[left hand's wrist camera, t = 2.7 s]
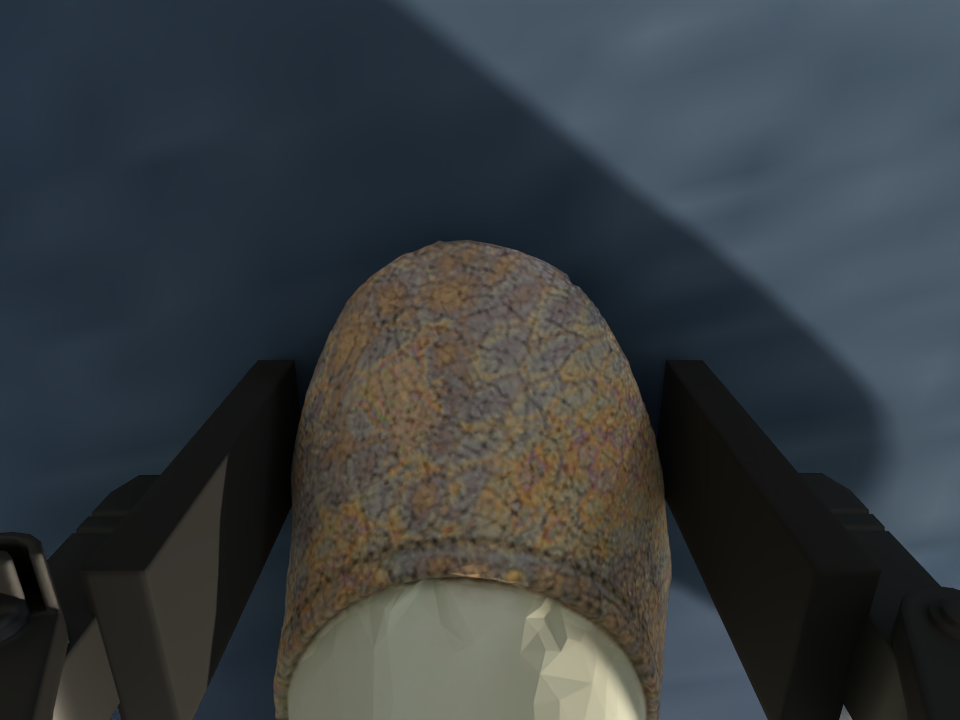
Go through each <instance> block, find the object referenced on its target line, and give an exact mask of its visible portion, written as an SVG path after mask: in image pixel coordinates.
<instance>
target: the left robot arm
mask: <svg viewBox="0 0 960 720" xmlns="http://www.w3.org/2000/svg"><path fill="white" fill-rule="evenodd" d="M300 418H301V415H300V406H299V397H298V389H297V380H296V371H295V362H294V360H258V361H257V362H256V364H255V365H254V366H253V367H252V368H251V369H250V371H249V372H248V373H247V374H246V375H245V376H244V378H243V379H242V380H241V381H240V382H239V383H238V385H237V386H236V387H235V388H234V389H233V391H232V392H231V393H230V394H229V395H228V396H227V398H226V399H225V400H224V401H223V402H222V403H221V405H220V406H219V407H218V408H217V409H216V411H215V412H214V413H213V414H212V415H211V416H210V418H209V419H208V420H207V421H206V422H205V423H204V425H203V426H202V427H201V428H200V429H199V431H198V432H197V433H196V434H195V435H194V436H193V438H192V439H191V440H190V441H189V442H188V443H187V445H186V446H185V447H184V448H183V449H182V451H181V452H180V453H179V454H178V455H177V456H176V458H175V459H174V460H173V461H172V462H171V463H170V465H169V466H168V467H167V468H166V469H165V470H164V472H163V473H162V474H161V475H139V476H137V477H136V478H134V479H132V480H131V481H129V482H127V483H126V484H124V485H123V486H121V487H119V488H118V489H116V490H114V491H113V492H111V493H110V494H109V495H108V496H107V497H106V498H105V500H104V501H103V502H102V503H101V504H100V505H99V506H98V507H97V508H96V509H95V510H94V511H93V512H92V516H89V517H88V518H87V519H86V520H85V521H84V522H83V523H82V524H81V525H80V526H79V527H78V528H77V532H76V533H74V534H72V535H71V536H70V537H69V538H68V539H67V540H66V541H65V542H64V543H63V544H62V545H61V546H60V547H59V548H58V550H57V551H56V552H55V553H54V554H53V555H52V556H51V557H50V558H49V559H48V560H46V557H45V554H44V550H43V547H42V544H41V542H40V541H39V540H38V539H36V538H35V537H33V536H32V535H31V534H24V533H16V532H7V533H0V720H110V718H111V717H112V715H113V713H114V712H115V710H116V708H117V707H118V709H119V712H120V716H121V719H122V720H193V718H194V715H195V713H196V711H197V709H198V707H199V705H200V702H201V700H202V698H203V696H204V694H205V692H206V690H207V687H208V685H209V683H210V681H211V679H212V677H213V674H214V672H215V670H216V668H217V666H218V664H219V661H220V659H221V657H222V655H223V653H224V651H225V649H226V646H227V644H228V642H229V640H230V638H231V636H232V633H233V631H234V629H235V627H236V625H237V623H238V620H239V618H240V616H241V614H242V612H243V610H244V608H245V605H246V603H247V601H248V599H249V597H250V595H251V592H252V590H253V588H254V586H255V584H256V582H257V579H258V577H259V575H260V573H261V571H262V569H263V567H264V564H265V562H266V560H267V558H268V556H269V554H270V551H271V549H272V547H273V545H274V543H275V541H276V538H277V536H278V534H279V532H280V530H281V528H282V526H283V523H284V521H285V519H286V517H287V515H288V513H289V510H290V508H291V506H292V498H291V468H292V459H293V453H294V447H295V440H296V435H297V431H298V426H299V422H300ZM657 448H658V453H659V459H660V463H661V467H662V471H663V479H664V489H665V499H666V501H667V503H668V505H669V507H670V509H671V512H672V514H673V516H674V518H675V520H676V522H677V525H678V527H679V529H680V531H681V533H682V535H683V537H684V540H685V542H686V544H687V546H688V548H689V550H690V553H691V555H692V557H693V559H694V561H695V563H696V566H697V568H698V570H699V572H700V574H701V576H702V578H703V581H704V583H705V585H706V587H707V589H708V591H709V594H710V596H711V598H712V600H713V602H714V604H715V607H716V609H717V611H718V613H719V615H720V617H721V619H722V622H723V624H724V626H725V628H726V630H727V632H728V635H729V637H730V639H731V641H732V643H733V645H734V647H735V650H736V652H737V654H738V656H739V658H740V660H741V663H742V665H743V667H744V669H745V671H746V673H747V676H748V678H749V680H750V682H751V684H752V686H753V688H754V691H755V693H756V695H757V697H758V699H759V701H760V704H761V706H762V708H763V710H764V712H765V714H766V717H767V719H768V720H839V718H840V714H841V711H842V707H843V704H844V706H845V707H846V709H847V711H848V712H849V714H850V716H851V717H852V719H853V720H960V590H957V589H954V588H947V587H941V586H940V585H939V584H938V583H937V582H936V581H935V580H934V579H933V578H932V577H931V575H930V574H929V573H928V572H927V571H926V570H925V569H924V568H923V567H922V566H921V565H920V564H919V563H918V562H917V561H916V560H915V559H914V557H913V556H912V555H911V554H910V553H909V552H908V551H907V550H906V549H905V548H904V547H903V546H902V545H901V544H900V543H899V542H898V541H897V540H896V538H895V537H894V536H893V535H892V534H891V533H890V532H889V531H885V529H884V528H885V527H884V526H883V525H882V524H881V523H880V522H879V520H878V519H877V518H876V517H875V516H874V515H873V514H869V510H868V509H867V508H866V507H865V506H864V505H863V504H862V503H861V501H860V500H859V499H858V498H857V497H856V496H855V495H854V494H853V493H852V492H851V491H850V490H849V489H847V488H845V487H844V486H842V485H840V484H839V483H837V482H835V481H834V480H832V479H830V478H829V477H827V476H825V475H824V474H822V473H798V472H797V471H796V470H795V469H794V468H793V466H792V465H791V464H790V463H789V462H788V460H787V459H786V458H785V457H784V456H783V455H782V453H781V452H780V451H779V450H778V449H777V448H776V446H775V445H774V444H773V443H772V442H771V440H770V439H769V438H768V437H767V436H766V435H765V433H764V432H763V431H762V430H761V429H760V428H759V426H758V425H757V424H756V423H755V422H754V421H753V419H752V418H751V417H750V416H749V415H748V413H747V412H746V411H745V410H744V409H743V408H742V406H741V405H740V404H739V403H738V402H737V401H736V399H735V398H734V397H733V396H732V395H731V393H730V392H729V391H728V390H727V389H726V388H725V386H724V385H723V384H722V383H721V382H720V381H719V379H718V378H717V377H716V376H715V375H714V374H713V372H712V371H711V370H710V369H709V368H708V366H707V365H706V364H705V363H704V362H703V361H702V360H666V367H665V375H664V384H663V393H662V402H661V410H660V419H659V428H658V436H657Z"/></svg>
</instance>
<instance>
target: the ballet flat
mask: <svg viewBox="0 0 960 720" xmlns="http://www.w3.org/2000/svg"><path fill="white" fill-rule="evenodd" d="M664 497H665V489H664V479H663V471H662V467H661V463H660V459H659V453H658V448H657V443H656V437H655V434H654V431H653V429H652V427H651V425H650V420H649V415H648V413H647V411H646V408H645V404H644V403H643V401H642V398H641V395H640V391H639V388H638V385H637V383H636V381H635V378H634V376H633V374H632V372H631V368H630V365H629V362H628V360H627V358H626V356H625V355H624V353H623V351H622V349H621V348H620V346H619V344H618V342H617V340H616V338H615V336H614V335H613V333H612V331H611V330H610V328H609V326H608V324H607V323H606V321H605V319H604V318H603V317H602V316H601V314H600V312H599V309H598V308H597V307H595V305H594V304H593V302H592V301H591V300H590V299H589V298H588V297H587V295H586V294H585V293H584V292H583V291H582V290H581V288H580V287H578V286H575V285H573V284H572V283H571V281H570V279H569V277H568V275H567V274H565V273H564V272H562V271H560V270H559V269H557V268H555V267H554V266H552V265H550V264H549V263H547V262H545V261H543V260H540V259H538V258H535V257H533V256H530V255H527V254H525V253H522V252H520V251H517V250H514V249H510V248H506V247H502V246H498V245H494V244H489V243H483V242H477V241H471V240H459V241H450V242H443V241H437V242H436V243H434V244H431V245H428V246H425V247H423V248H421V249H419V250H417V251H414V252H410V253H406V254H404V255H401V256H400V257H398V258H397V259H395V260H394V261H392V262H391V263H389V264H388V265H386V266H385V267H383V268H382V269H381V270H379V271H378V272H376V273H375V274H373V275H372V276H371V277H370V278H369V279H368V280H367V281H366V282H365V283H363V284H362V285H361V286H360V287H359V288H358V289H357V290H356V291H355V293H354V294H353V295H352V296H351V297H350V298H349V300H348V301H347V302H346V304H345V306H344V308H343V310H342V312H341V314H340V315H339V317H338V319H337V322H336V323H335V325H334V327H333V328H332V330H331V331H330V333H329V336H328V339H327V341H326V344H325V346H324V348H323V351H322V353H321V355H320V357H319V360H318V362H317V365H316V368H315V371H314V374H313V376H312V379H311V382H310V385H309V387H308V390H307V392H306V397H305V403H304V406H303V409H302V413H301V418H300V422H299V426H298V431H297V435H296V440H295V447H294V453H293V459H292V468H291V498H292V536H291V548H290V560H289V567H288V573H287V581H286V599H285V615H284V622H283V627H282V629H281V638H280V643H279V648H278V658H277V667H276V672H275V677H274V703H275V710H276V712H275V718H276V720H658V719H659V715H660V694H661V682H662V677H663V672H662V670H663V655H664V642H665V630H666V616H667V608H668V599H669V590H670V583H671V580H672V570H671V554H670V545H669V536H668V530H667V519H666V510H665V508H666V505H665V501H664Z"/></svg>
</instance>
